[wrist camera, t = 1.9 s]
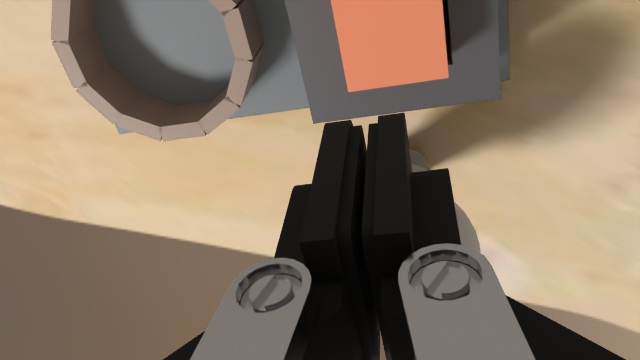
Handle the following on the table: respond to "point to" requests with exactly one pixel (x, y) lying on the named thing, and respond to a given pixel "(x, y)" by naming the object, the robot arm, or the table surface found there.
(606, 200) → the table surface
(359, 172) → the robot arm
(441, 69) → the switch button
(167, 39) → the panel
